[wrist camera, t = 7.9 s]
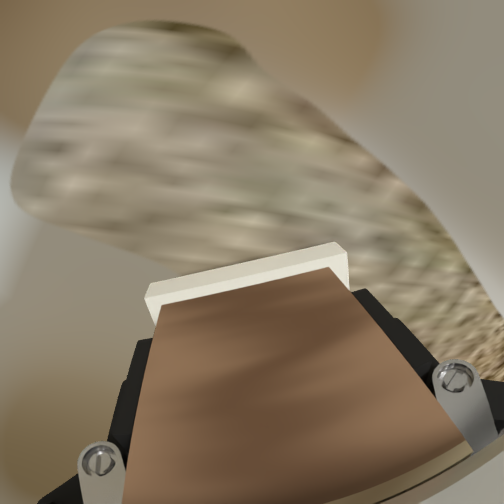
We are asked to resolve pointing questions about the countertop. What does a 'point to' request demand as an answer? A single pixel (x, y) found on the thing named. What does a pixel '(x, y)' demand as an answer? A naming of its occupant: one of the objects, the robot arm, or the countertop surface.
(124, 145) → the countertop surface
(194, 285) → the cutting board
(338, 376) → the two-tone wooden block
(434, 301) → the countertop surface
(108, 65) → the countertop surface
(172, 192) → the countertop surface
